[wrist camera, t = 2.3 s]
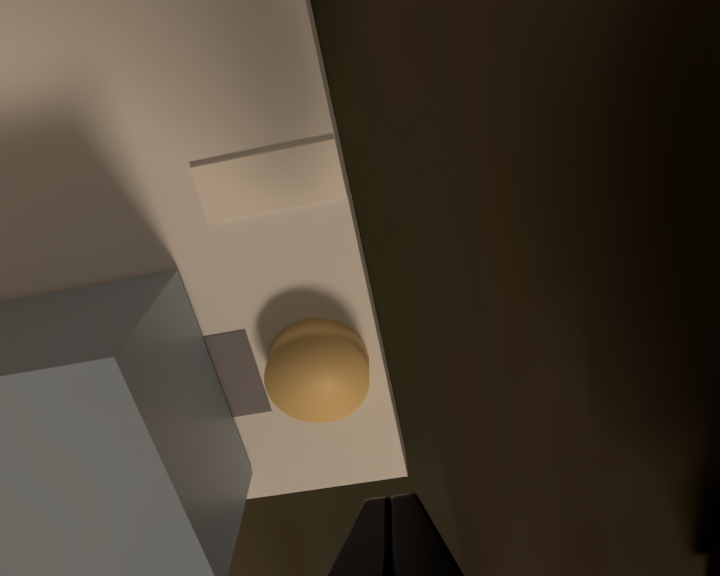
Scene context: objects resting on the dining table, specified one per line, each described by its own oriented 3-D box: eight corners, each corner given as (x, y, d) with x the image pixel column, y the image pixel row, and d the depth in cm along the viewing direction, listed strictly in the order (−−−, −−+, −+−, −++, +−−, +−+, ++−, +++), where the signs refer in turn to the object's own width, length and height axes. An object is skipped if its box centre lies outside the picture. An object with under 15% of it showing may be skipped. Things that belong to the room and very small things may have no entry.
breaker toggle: (177, 269, 12) (114, 357, 9) (252, 472, 15) (223, 594, 12) (-71, 315, 13) (-210, 411, 10) (42, 503, 16) (-40, 627, 12)
